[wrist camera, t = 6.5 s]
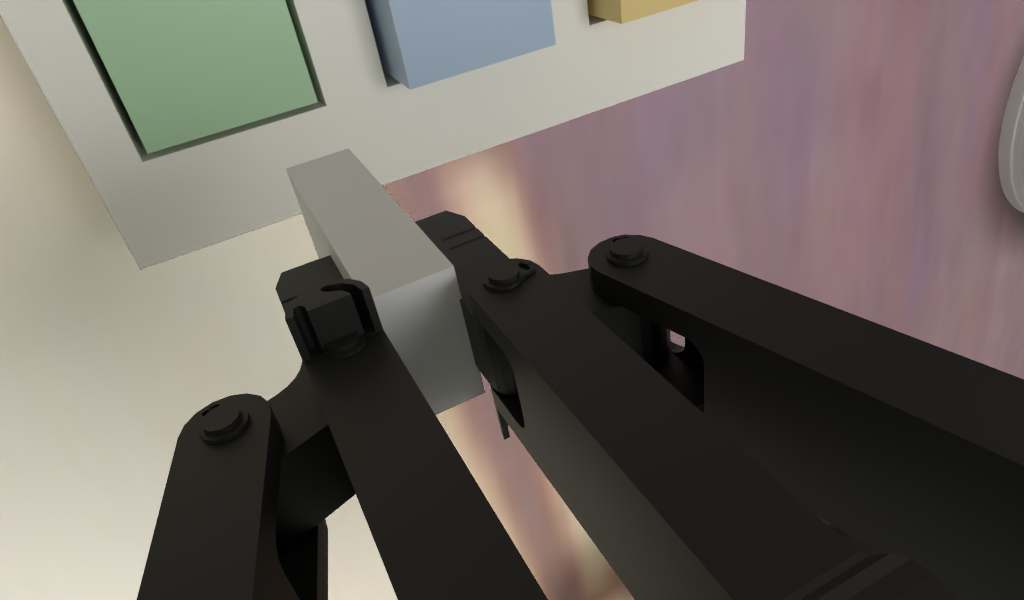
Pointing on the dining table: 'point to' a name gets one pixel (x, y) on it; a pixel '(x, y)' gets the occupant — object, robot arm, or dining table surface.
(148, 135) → the key sage
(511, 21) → the key blue
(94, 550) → the dining table surface
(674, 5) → the key ochre
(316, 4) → the key panel
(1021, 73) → the plate stack
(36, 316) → the dining table surface
